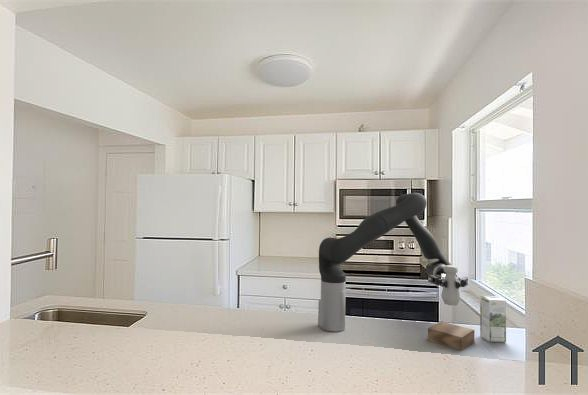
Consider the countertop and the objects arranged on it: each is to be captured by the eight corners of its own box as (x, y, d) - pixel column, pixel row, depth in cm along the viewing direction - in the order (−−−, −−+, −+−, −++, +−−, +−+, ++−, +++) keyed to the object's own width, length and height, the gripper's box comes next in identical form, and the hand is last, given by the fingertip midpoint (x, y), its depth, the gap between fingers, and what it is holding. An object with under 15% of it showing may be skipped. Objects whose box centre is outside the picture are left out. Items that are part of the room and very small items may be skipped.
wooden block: (427, 340, 109) (427, 328, 109) (441, 332, 116) (441, 321, 117) (462, 350, 101) (461, 337, 101) (474, 341, 108) (474, 329, 108)
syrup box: (496, 336, 114) (495, 295, 114) (506, 343, 108) (506, 299, 108) (480, 336, 114) (479, 294, 115) (489, 342, 108) (489, 299, 109)
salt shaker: (462, 307, 106) (462, 267, 107) (443, 305, 107) (443, 266, 108) (457, 302, 112) (456, 264, 112) (439, 301, 113) (439, 264, 114)
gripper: (424, 264, 126) (429, 272, 109) (464, 267, 121) (475, 275, 105) (424, 284, 125) (429, 294, 109) (464, 287, 121) (475, 298, 105)
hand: (452, 285), depth 107 cm, fingers closed on salt shaker, 3 cm apart
